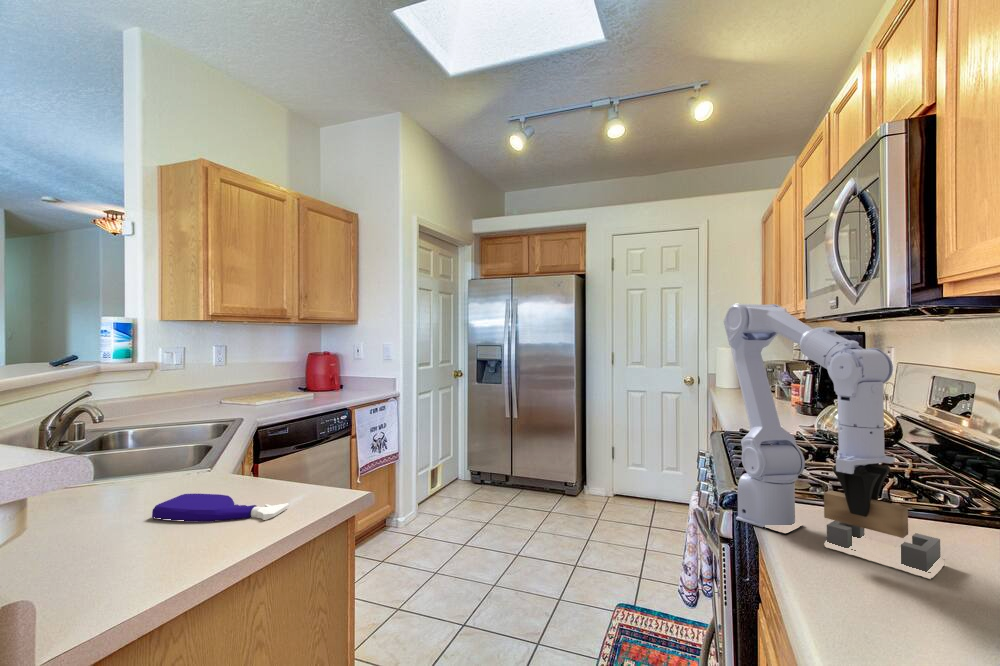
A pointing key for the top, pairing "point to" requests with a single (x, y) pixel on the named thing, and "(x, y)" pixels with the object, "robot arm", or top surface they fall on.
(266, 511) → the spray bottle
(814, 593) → the top surface
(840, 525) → the end caps
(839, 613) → the top surface
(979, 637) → the top surface
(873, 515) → the slat
